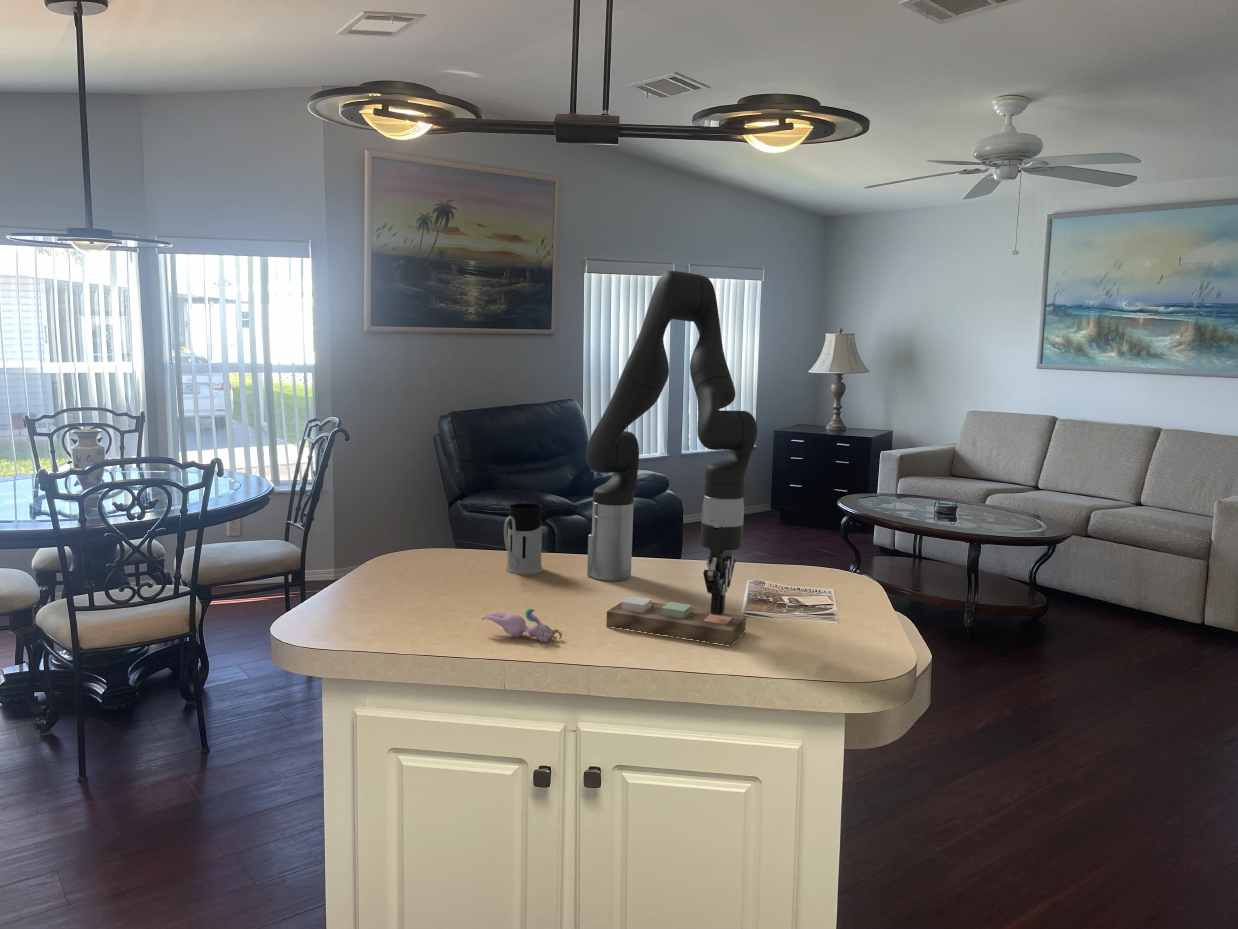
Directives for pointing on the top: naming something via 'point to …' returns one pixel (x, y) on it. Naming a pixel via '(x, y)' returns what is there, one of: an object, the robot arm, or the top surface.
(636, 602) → the offwhite button
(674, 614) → the sage button
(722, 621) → the terracotta button
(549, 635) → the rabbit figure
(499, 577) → the top surface
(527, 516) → the glass holder
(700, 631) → the button panel
